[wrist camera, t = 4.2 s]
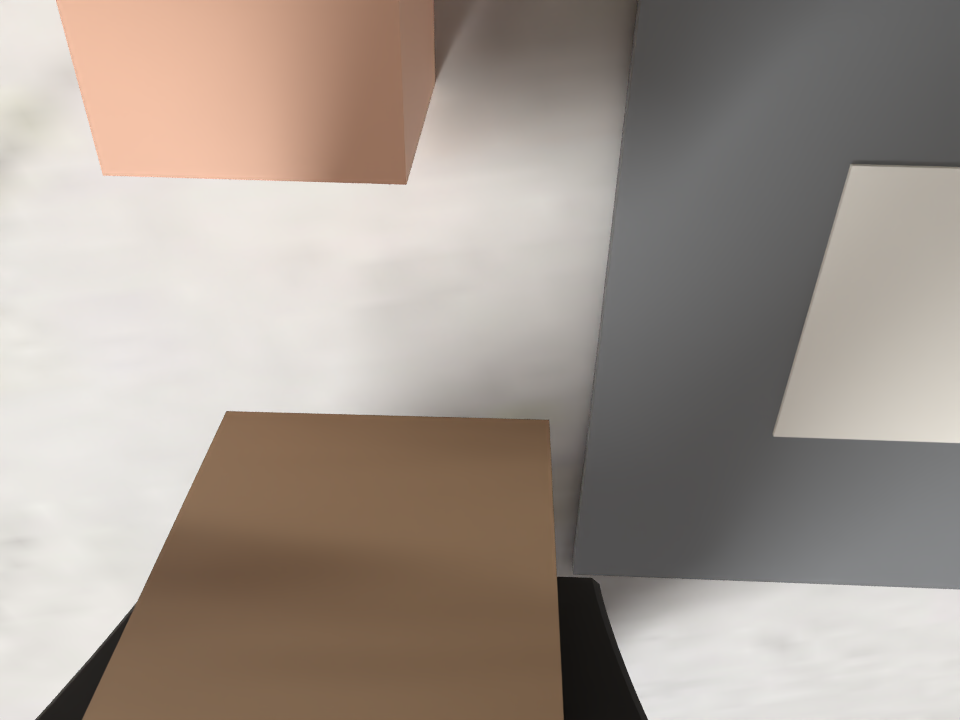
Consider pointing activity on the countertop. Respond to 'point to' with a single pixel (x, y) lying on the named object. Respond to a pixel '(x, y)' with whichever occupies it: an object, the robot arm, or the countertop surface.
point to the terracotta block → (254, 86)
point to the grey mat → (782, 300)
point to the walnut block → (352, 577)
